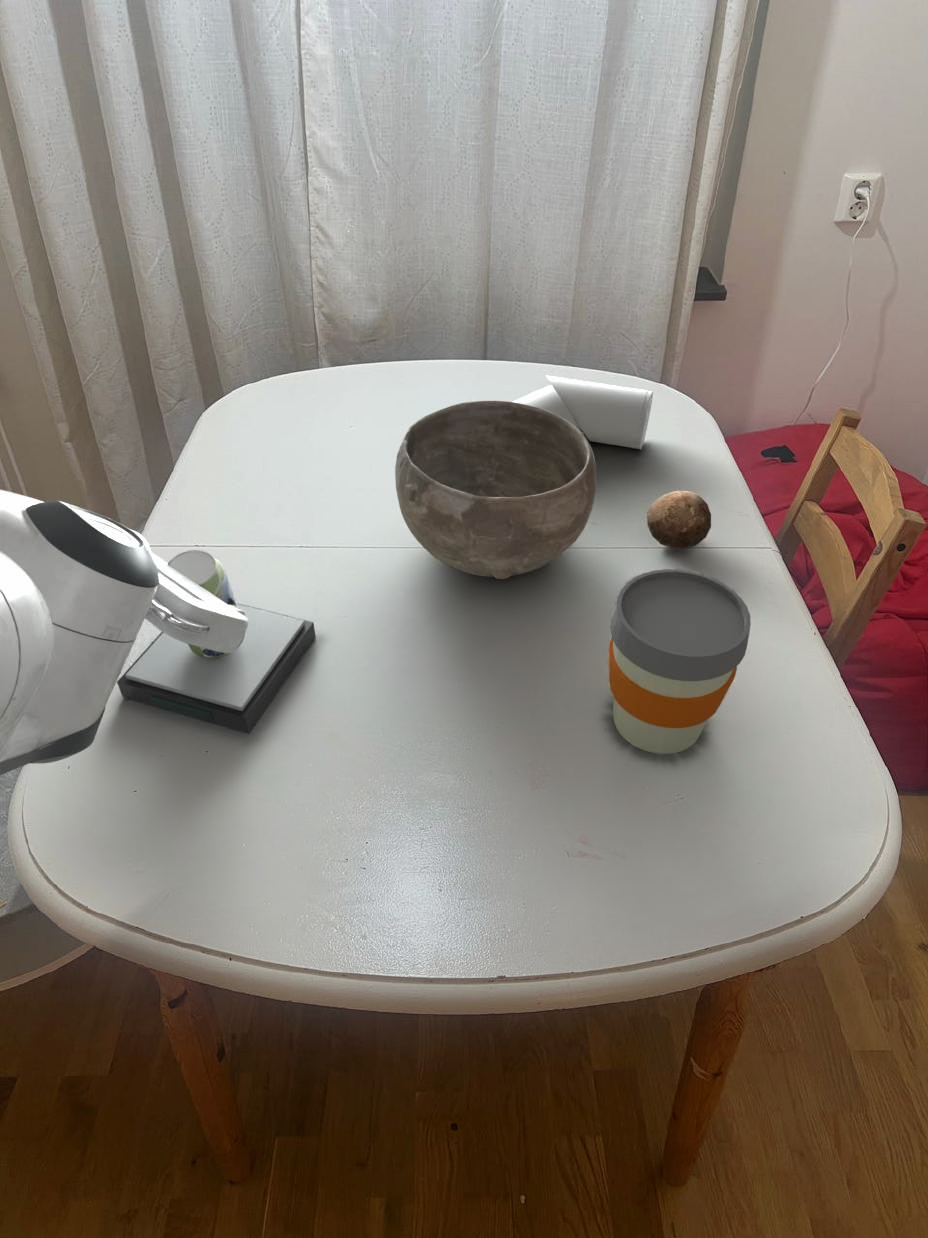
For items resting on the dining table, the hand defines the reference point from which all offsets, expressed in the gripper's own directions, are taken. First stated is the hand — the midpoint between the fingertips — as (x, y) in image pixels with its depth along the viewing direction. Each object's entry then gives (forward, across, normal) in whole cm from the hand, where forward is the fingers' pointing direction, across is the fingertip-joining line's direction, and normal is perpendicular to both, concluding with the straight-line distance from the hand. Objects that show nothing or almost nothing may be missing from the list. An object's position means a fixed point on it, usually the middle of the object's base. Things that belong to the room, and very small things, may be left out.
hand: (215, 601), depth 87 cm
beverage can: (+4, +1, +5) cm, 7 cm away
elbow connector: (+52, -2, -38) cm, 65 cm away
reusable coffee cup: (+23, -39, -10) cm, 47 cm away
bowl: (+32, -8, -18) cm, 37 cm away
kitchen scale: (+6, +1, +7) cm, 9 cm away
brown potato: (+44, -25, -30) cm, 59 cm away
